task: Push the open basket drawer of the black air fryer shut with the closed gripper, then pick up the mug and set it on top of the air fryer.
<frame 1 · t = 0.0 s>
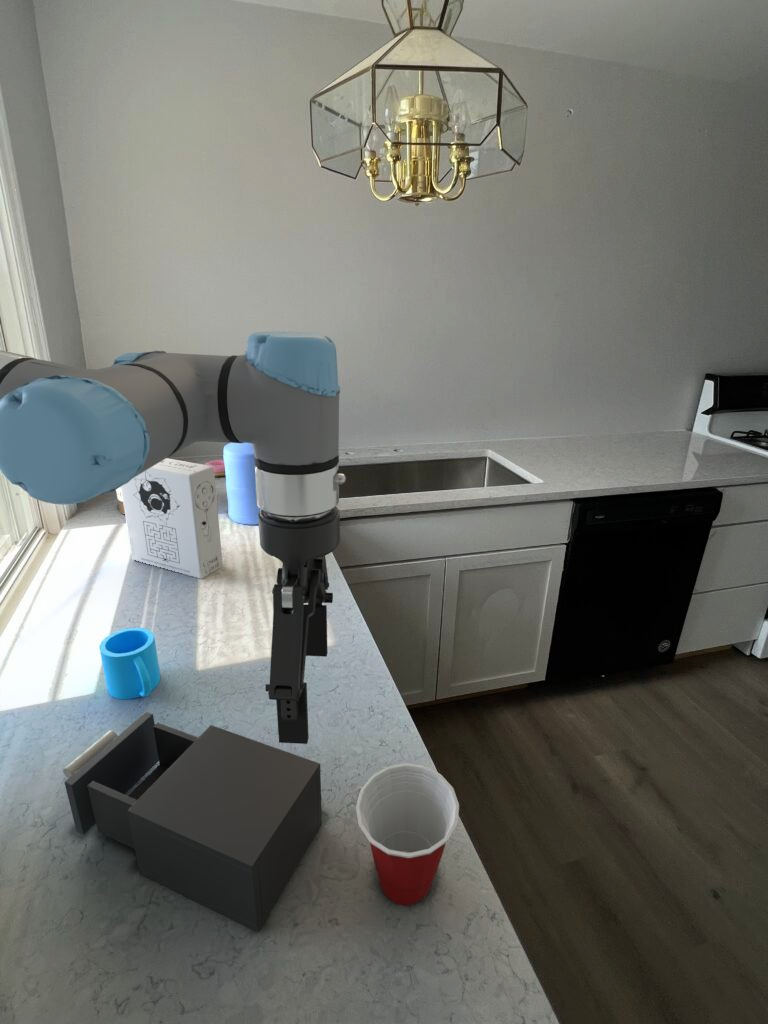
hand: (305, 693, 59), 22 cm above the worktop, tool pointing down, fingers open, 13 cm apart
mug: (138, 689, 92), on the worktop
drawer: (144, 781, 69), point 5 cm above the worktop, slide at 9.0 cm
cereal box: (177, 564, 134), on the worktop
water jug: (256, 516, 163), on the worktop
plastic cup: (403, 882, 63), on the worktop
wooden container: (146, 508, 167), on the worktop
air fryer: (235, 847, 66), on the worktop
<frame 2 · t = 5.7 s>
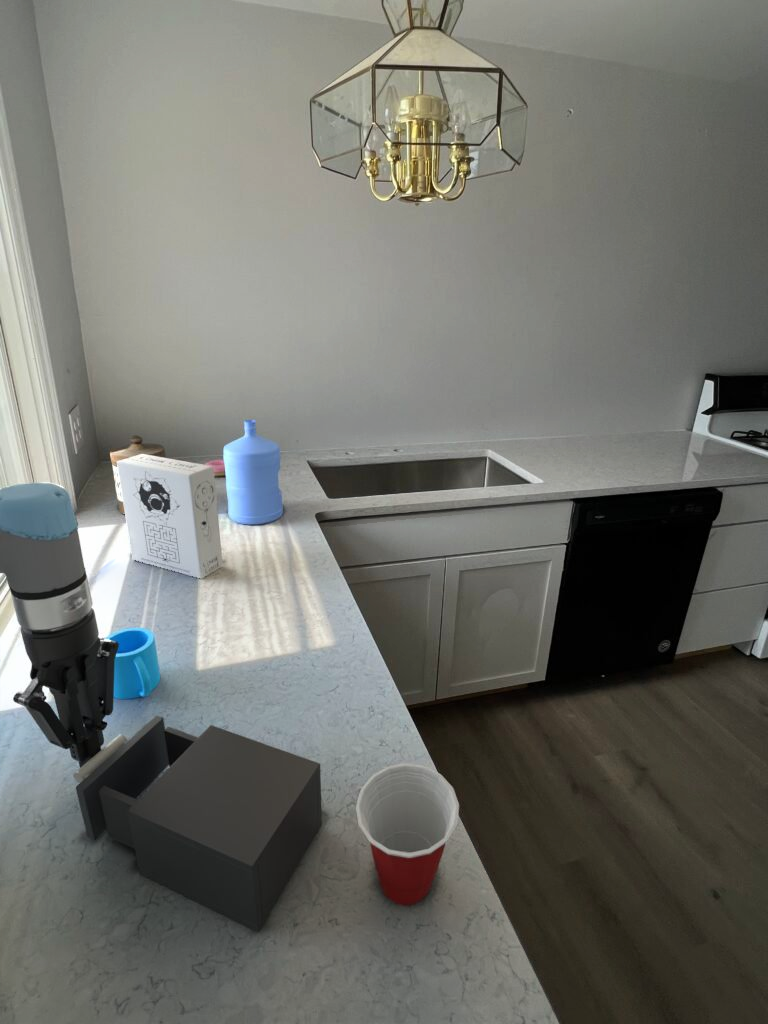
hand: (93, 771, 73), 3 cm above the worktop, tool pointing down, fingers closed
drawer: (155, 785, 68), point 5 cm above the worktop, slide at 7.2 cm, touching gripper
everything else where it was.
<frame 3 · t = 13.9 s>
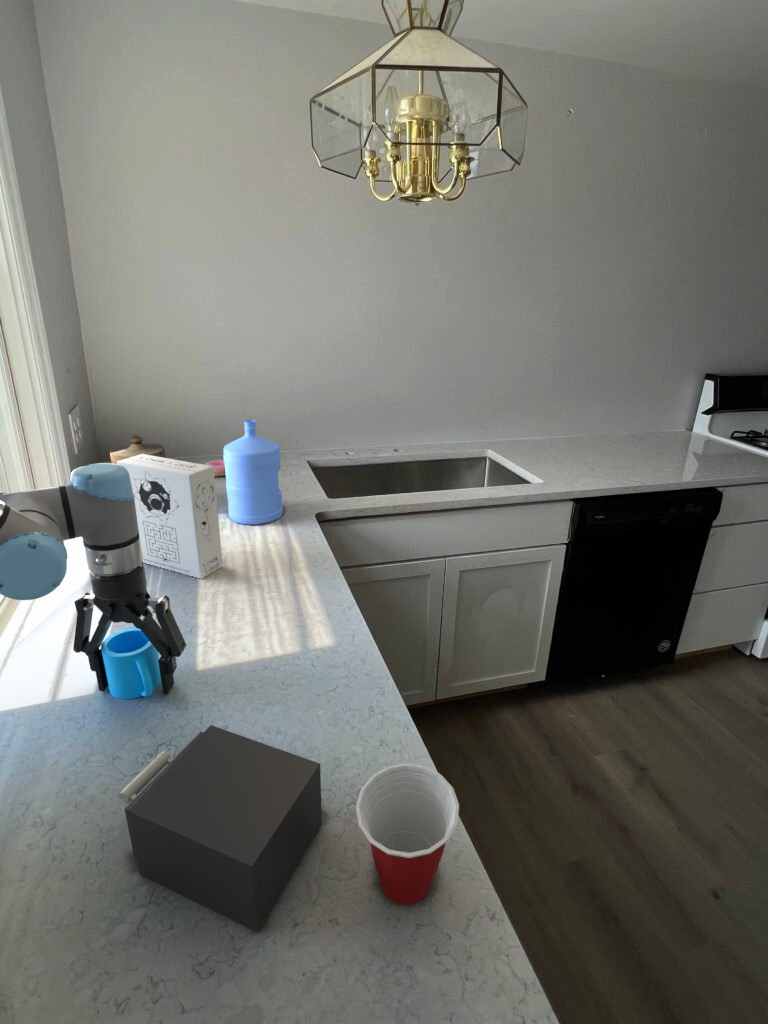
hand: (137, 687, 92), 0 cm above the worktop, tool pointing down, fingers open, 10 cm apart
mug: (140, 689, 92), on the worktop, touching gripper
drawer: (204, 806, 65), point 5 cm above the worktop, slide at 0.0 cm
everything else where it was.
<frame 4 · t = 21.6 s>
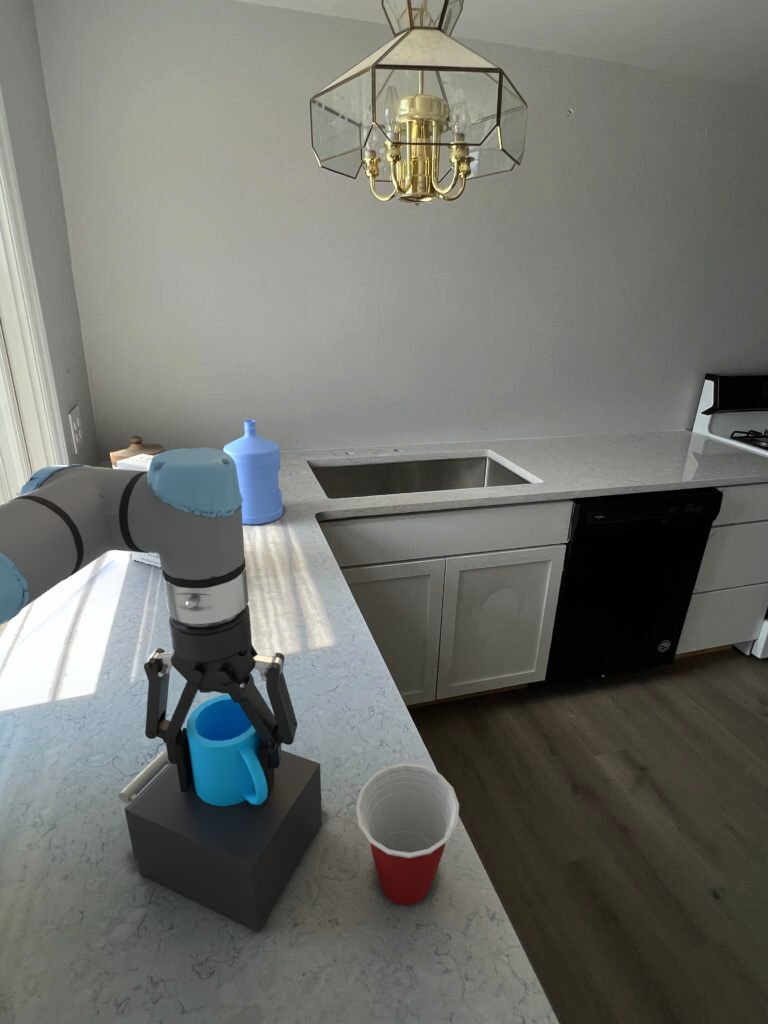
hand: (228, 784, 62), 10 cm above the worktop, tool pointing down, fingers closed on mug, 8 cm apart
mug: (239, 787, 62), point 10 cm above the worktop, touching gripper
everything else where it was.
when the fingers open (11 cm above the worktop, at t = 31.8 s): mug drops 1 cm, resting on air fryer.
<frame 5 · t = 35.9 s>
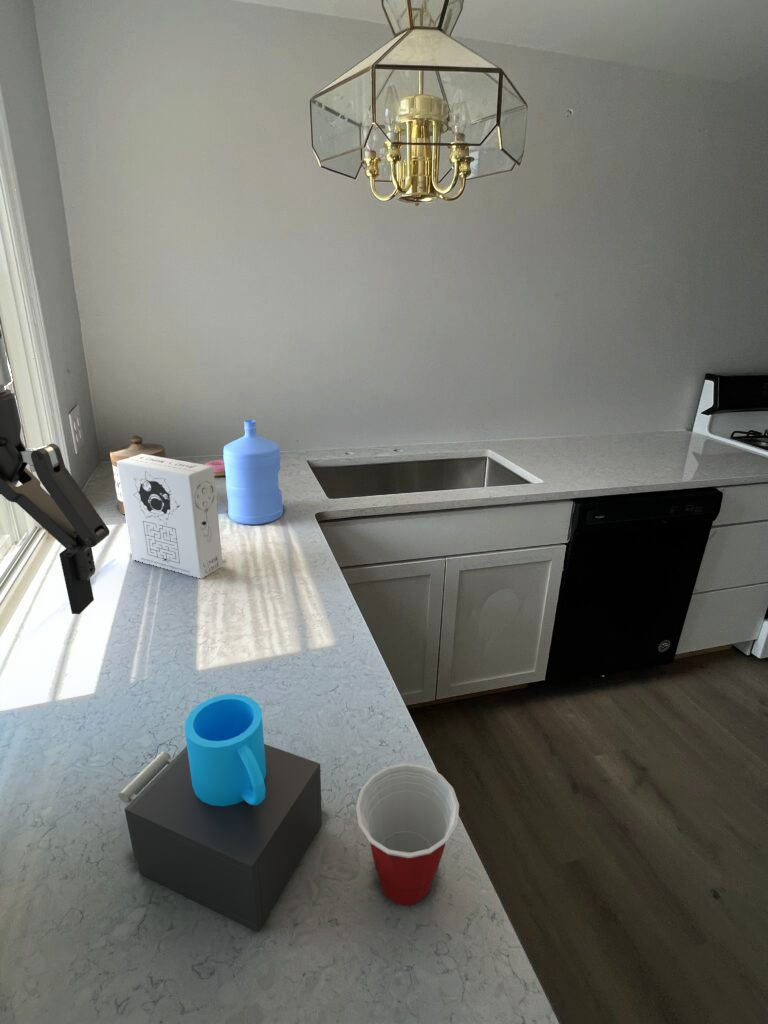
hand: (16, 604, 56), 32 cm above the worktop, tool pointing down, fingers open, 13 cm apart
mug: (237, 787, 62), point 10 cm above the worktop, touching air fryer
everything else where it was.
at the end: drawer slide at 0.0 cm; mug inside the target area on the air fryer (1.0 cm from its centre), point 9.6 cm above the air fryer's base; mug tilted 0° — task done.
